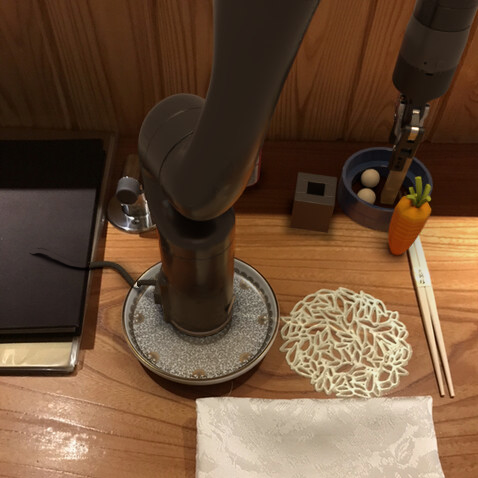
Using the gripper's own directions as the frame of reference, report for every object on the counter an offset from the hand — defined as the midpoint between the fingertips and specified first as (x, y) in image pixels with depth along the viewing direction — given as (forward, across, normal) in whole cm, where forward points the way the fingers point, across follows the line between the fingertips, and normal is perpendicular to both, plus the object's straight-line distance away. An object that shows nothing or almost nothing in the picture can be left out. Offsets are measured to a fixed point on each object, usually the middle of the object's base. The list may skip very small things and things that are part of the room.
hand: (395, 155), depth 85 cm
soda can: (+10, -1, -23) cm, 25 cm away
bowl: (+10, 0, 0) cm, 10 cm away
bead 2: (+8, +2, -3) cm, 8 cm away
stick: (+9, 0, +1) cm, 9 cm away
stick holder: (+10, +6, -11) cm, 16 cm away
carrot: (+10, +11, +3) cm, 15 cm away
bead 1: (+8, -3, -2) cm, 8 cm away
